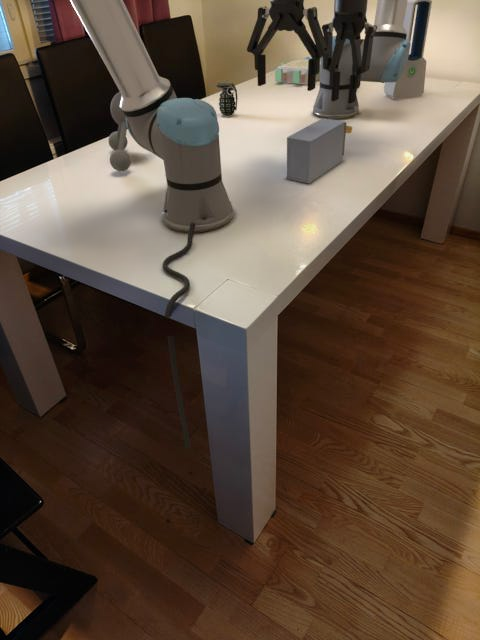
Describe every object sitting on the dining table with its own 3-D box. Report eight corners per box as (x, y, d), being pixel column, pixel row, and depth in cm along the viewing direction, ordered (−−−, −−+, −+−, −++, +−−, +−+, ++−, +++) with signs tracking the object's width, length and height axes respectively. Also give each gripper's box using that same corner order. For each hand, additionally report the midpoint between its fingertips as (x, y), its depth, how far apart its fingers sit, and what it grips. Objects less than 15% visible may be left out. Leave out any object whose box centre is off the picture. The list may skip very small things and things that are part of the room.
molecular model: (194, 162, 134) (180, 38, 116) (114, 177, 128) (87, 49, 110) (171, 138, 152) (156, 27, 133) (100, 151, 146) (75, 36, 127)
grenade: (217, 117, 168) (214, 86, 162) (221, 112, 172) (219, 82, 166) (235, 117, 166) (233, 86, 160) (239, 113, 171) (238, 82, 165)
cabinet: (320, 157, 133) (322, 118, 127) (341, 161, 130) (345, 121, 124) (286, 178, 122) (286, 137, 116) (309, 183, 119) (310, 141, 113)
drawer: (335, 146, 137) (338, 114, 132) (353, 149, 135) (356, 116, 129) (295, 171, 124) (296, 137, 118) (313, 175, 121) (315, 140, 116)
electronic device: (392, 100, 174) (405, 0, 156) (382, 95, 180) (394, -2, 162) (423, 96, 177) (440, -3, 158) (412, 91, 182) (427, -5, 164)
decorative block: (298, 54, 217) (338, 57, 207) (297, 70, 220) (337, 74, 211) (266, 66, 200) (309, 70, 191) (266, 83, 204) (308, 87, 195)
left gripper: (348, -22, 102) (340, 87, 115) (247, -20, 113) (250, 79, 126) (333, -19, 97) (326, 95, 110) (229, -17, 108) (234, 86, 121)
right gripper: (393, -9, 110) (380, 101, 124) (325, -9, 118) (320, 94, 133) (380, -6, 105) (368, 108, 120) (310, -6, 114) (306, 100, 128)
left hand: (285, 87), depth 118 cm, fingers open, 13 cm apart
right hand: (343, 100), depth 126 cm, fingers open, 4 cm apart
